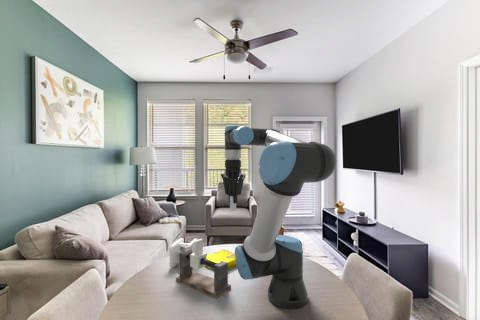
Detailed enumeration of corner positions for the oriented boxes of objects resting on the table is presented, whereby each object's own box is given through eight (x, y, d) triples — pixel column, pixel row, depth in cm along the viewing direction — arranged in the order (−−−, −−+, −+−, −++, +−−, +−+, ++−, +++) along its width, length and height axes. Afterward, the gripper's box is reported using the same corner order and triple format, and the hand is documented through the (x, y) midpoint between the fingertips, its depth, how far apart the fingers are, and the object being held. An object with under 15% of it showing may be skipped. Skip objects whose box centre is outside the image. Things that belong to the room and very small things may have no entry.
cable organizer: (188, 271, 118) (188, 246, 118) (168, 269, 119) (168, 245, 119) (198, 258, 132) (198, 237, 133) (180, 257, 134) (180, 236, 134)
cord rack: (230, 288, 101) (230, 253, 101) (216, 298, 94) (216, 260, 94) (190, 273, 115) (190, 242, 115) (175, 280, 108) (175, 247, 108)
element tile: (223, 256, 136) (223, 248, 136) (242, 264, 126) (242, 255, 126) (201, 264, 125) (201, 255, 125) (221, 274, 115) (221, 263, 115)
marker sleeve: (206, 265, 106) (206, 239, 106) (198, 269, 102) (198, 242, 102) (198, 262, 109) (198, 237, 109) (190, 266, 105) (190, 240, 105)
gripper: (249, 159, 112) (249, 210, 112) (227, 159, 120) (227, 207, 119) (239, 159, 106) (239, 213, 106) (217, 159, 113) (217, 209, 113)
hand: (233, 210), depth 112 cm, fingers closed
